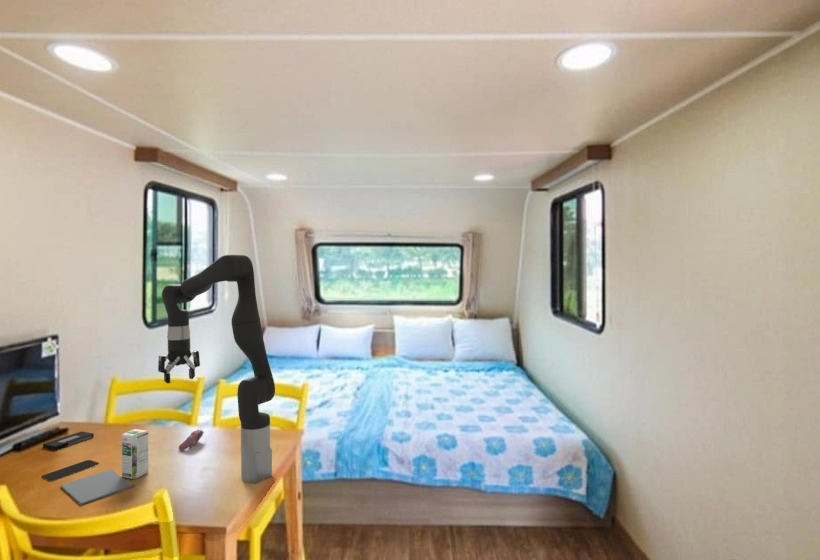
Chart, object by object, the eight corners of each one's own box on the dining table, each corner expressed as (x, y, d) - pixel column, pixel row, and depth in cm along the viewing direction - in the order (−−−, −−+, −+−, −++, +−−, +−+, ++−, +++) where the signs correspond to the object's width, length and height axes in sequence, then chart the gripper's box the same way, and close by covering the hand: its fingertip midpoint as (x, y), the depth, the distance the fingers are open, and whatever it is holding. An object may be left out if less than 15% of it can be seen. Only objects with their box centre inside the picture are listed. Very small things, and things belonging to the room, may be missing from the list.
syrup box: (121, 477, 150) (120, 434, 149) (136, 469, 155) (135, 428, 155) (134, 479, 148) (133, 436, 147) (149, 472, 153) (149, 429, 153)
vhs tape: (93, 438, 185) (93, 433, 185) (55, 451, 171) (55, 446, 171) (81, 436, 187) (81, 431, 187) (43, 449, 174) (42, 443, 174)
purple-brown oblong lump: (187, 455, 171) (195, 438, 171) (176, 449, 171) (184, 433, 171) (200, 444, 181) (207, 429, 181) (189, 439, 181) (197, 424, 181)
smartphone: (100, 463, 160) (51, 481, 146) (100, 465, 160) (51, 483, 146) (88, 459, 163) (39, 476, 150) (88, 461, 163) (39, 478, 150)
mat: (133, 486, 143) (133, 484, 143) (80, 505, 132) (80, 503, 132) (110, 471, 154) (110, 469, 154) (60, 487, 143) (60, 485, 143)
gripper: (163, 341, 161) (164, 386, 161) (202, 336, 172) (203, 378, 172) (154, 339, 166) (155, 383, 166) (193, 334, 177) (194, 376, 177)
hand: (180, 380), depth 169 cm, fingers open, 8 cm apart
